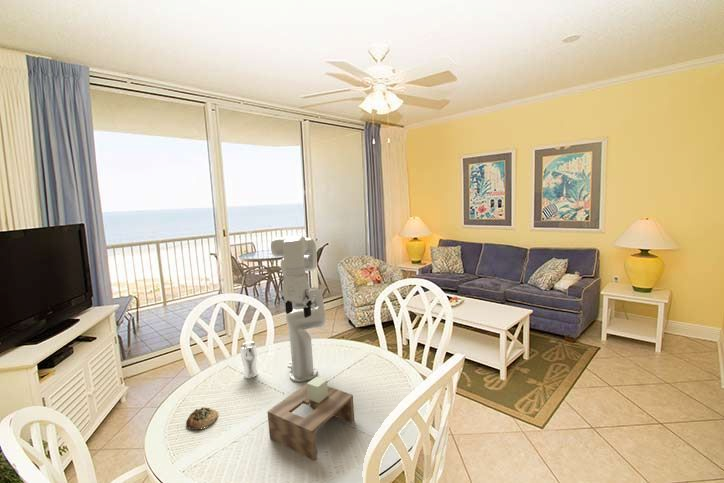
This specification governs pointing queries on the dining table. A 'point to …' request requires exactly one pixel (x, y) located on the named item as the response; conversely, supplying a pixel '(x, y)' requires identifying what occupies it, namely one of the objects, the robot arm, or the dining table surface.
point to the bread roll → (201, 418)
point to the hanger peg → (317, 389)
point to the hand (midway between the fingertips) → (298, 314)
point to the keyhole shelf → (307, 419)
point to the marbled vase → (249, 359)
